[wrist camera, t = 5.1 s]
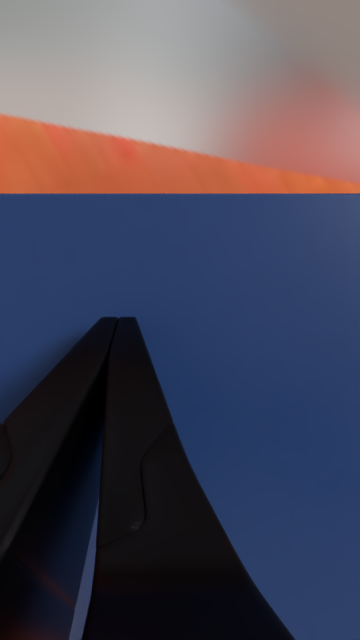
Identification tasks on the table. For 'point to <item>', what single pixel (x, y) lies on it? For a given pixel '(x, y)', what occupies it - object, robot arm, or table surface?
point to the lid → (218, 362)
